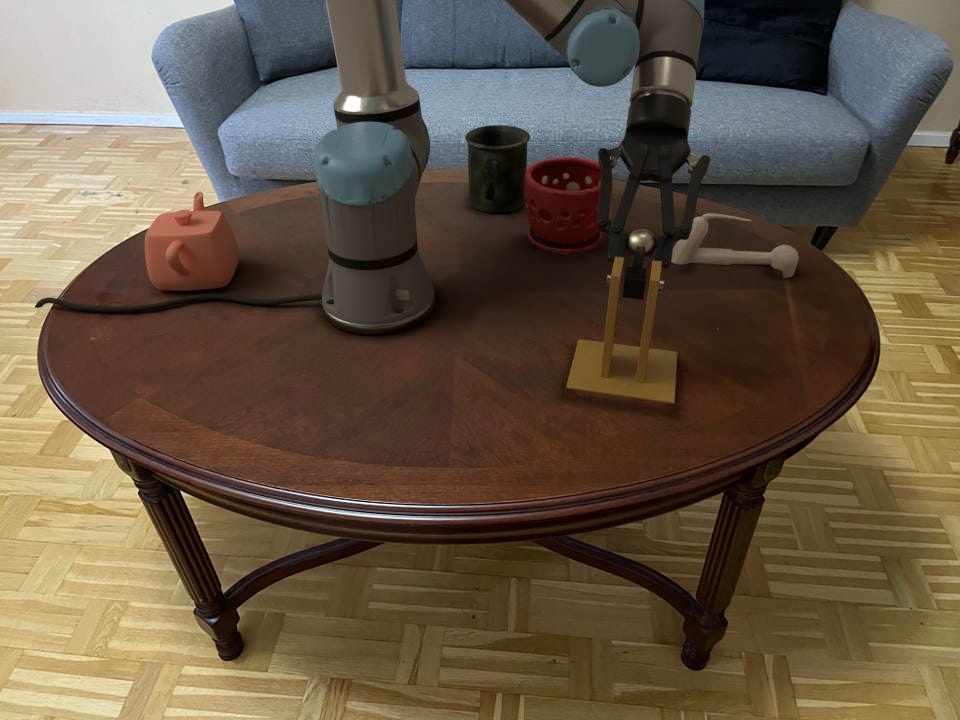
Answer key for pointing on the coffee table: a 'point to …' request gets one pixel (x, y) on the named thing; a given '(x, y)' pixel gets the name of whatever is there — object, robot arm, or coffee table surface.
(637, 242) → the black lever with ball
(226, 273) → the teapot
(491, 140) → the mug
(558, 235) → the flower pot
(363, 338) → the coffee table surface
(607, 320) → the yellow post stand
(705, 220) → the faucet
